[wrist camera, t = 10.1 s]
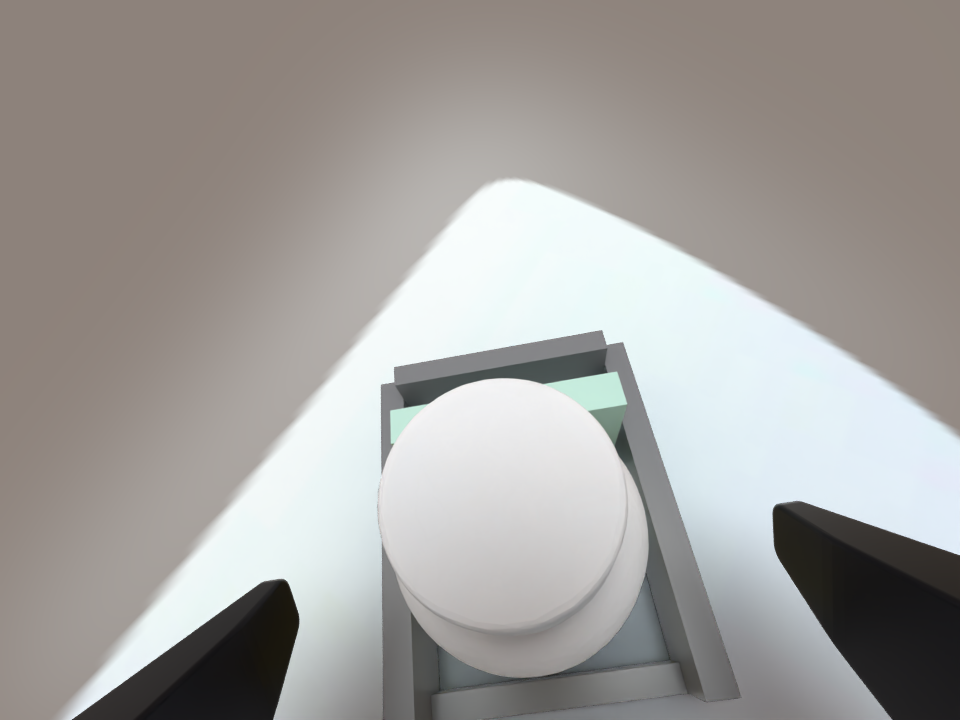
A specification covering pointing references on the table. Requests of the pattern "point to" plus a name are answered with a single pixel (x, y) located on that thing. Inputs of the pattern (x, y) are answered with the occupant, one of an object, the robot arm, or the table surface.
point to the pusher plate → (590, 392)
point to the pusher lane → (670, 566)
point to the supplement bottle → (513, 527)
